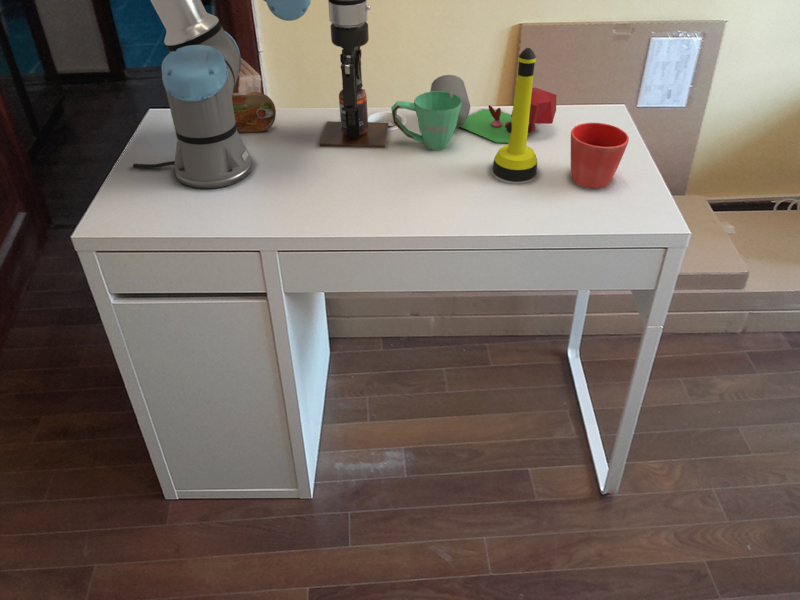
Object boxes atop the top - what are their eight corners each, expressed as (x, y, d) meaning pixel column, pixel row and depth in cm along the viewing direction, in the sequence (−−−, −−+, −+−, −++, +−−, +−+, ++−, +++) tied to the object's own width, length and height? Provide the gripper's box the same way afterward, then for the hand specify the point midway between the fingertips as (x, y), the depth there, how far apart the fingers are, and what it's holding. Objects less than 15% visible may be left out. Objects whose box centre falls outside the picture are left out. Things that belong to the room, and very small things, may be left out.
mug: (459, 135, 152) (462, 91, 145) (459, 156, 144) (461, 111, 138) (393, 133, 153) (393, 90, 146) (389, 154, 145) (388, 109, 139)
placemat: (320, 146, 148) (319, 143, 148) (327, 123, 156) (327, 121, 156) (384, 147, 147) (384, 145, 147) (388, 125, 156) (388, 122, 155)
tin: (209, 133, 153) (202, 97, 148) (212, 127, 156) (205, 91, 150) (277, 131, 154) (272, 95, 148) (278, 125, 156) (274, 89, 151)
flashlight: (554, 41, 125) (505, 38, 127) (552, 59, 119) (500, 55, 120) (537, 163, 141) (494, 159, 143) (535, 185, 135) (489, 181, 136)
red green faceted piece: (522, 154, 144) (527, 113, 139) (452, 124, 155) (454, 85, 150) (564, 132, 152) (570, 93, 147) (494, 105, 164) (498, 67, 158)
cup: (426, 110, 146) (425, 73, 150) (429, 137, 155) (428, 101, 159) (471, 107, 146) (468, 70, 149) (471, 134, 154) (469, 98, 158)
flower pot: (603, 163, 141) (612, 119, 135) (628, 190, 133) (639, 144, 127) (555, 168, 140) (562, 124, 133) (577, 196, 131) (585, 150, 125)
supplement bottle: (360, 123, 154) (357, 73, 147) (373, 133, 151) (371, 83, 143) (336, 129, 152) (333, 79, 145) (349, 139, 148) (346, 89, 141)
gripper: (363, 39, 129) (368, 151, 144) (372, 7, 143) (376, 112, 158) (323, 38, 129) (332, 150, 144) (336, 7, 144) (343, 111, 159)
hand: (355, 130), depth 151 cm, fingers closed on supplement bottle, 6 cm apart
